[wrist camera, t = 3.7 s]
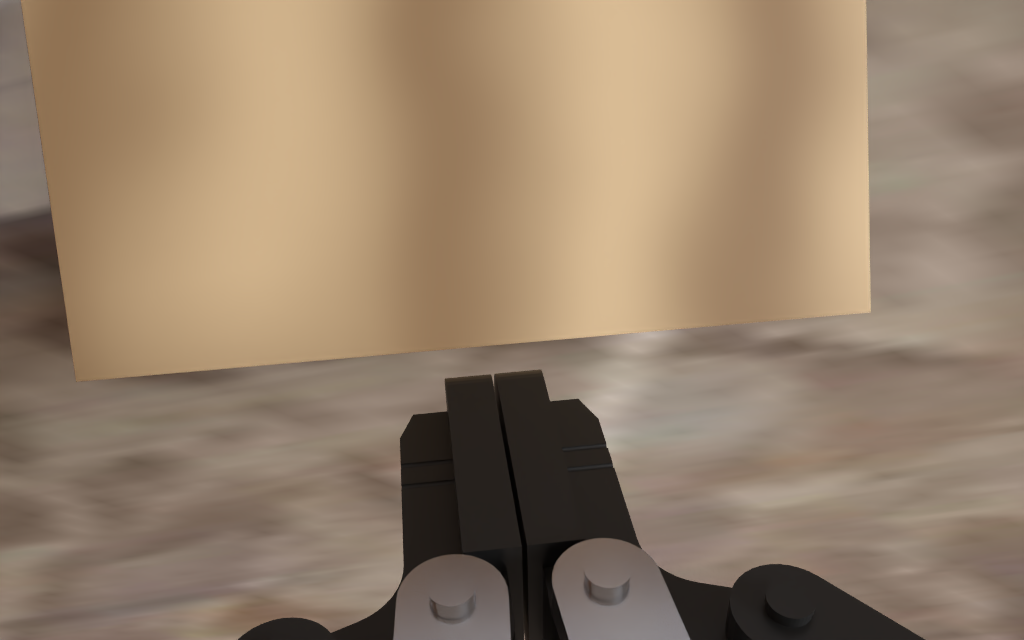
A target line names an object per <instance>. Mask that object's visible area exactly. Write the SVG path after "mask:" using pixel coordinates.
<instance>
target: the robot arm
mask: <svg viewBox="0 0 1024 640" xmlns="http://www.w3.org/2000/svg"><path fill="white" fill-rule="evenodd" d="M445 390H446V403H447V412H437V413H427V414H416V415H413V416H412V418H411V420H410V422H409V423H408V425H407V427H406V429H405V431H404V432H403V434H402V436H401V438H400V453H401V485H402V520H403V554H404V570H403V576H402V580H401V583H400V585H399V587H398V589H397V591H396V592H395V594H394V595H393V597H392V598H391V599H390V600H389V601H388V602H387V603H386V604H385V605H384V606H383V607H382V608H381V609H379V610H378V611H377V612H375V613H374V614H372V615H371V616H369V617H367V618H365V619H363V620H361V621H359V622H357V623H354V624H352V625H349V626H347V627H345V628H342V629H340V630H337V631H335V632H332V633H330V632H329V631H328V630H327V629H326V628H325V627H323V626H322V625H320V624H318V623H316V622H314V621H311V620H307V619H303V618H281V619H277V620H272V621H269V622H266V623H263V624H261V625H259V626H257V627H255V628H253V629H251V630H250V631H248V632H247V633H245V634H244V635H243V636H241V637H240V638H239V639H238V640H524V635H525V640H925V639H923V638H922V637H920V636H918V635H916V634H915V633H913V632H911V631H910V630H908V629H906V628H905V627H903V626H901V625H900V624H898V623H896V622H895V621H893V620H891V619H889V618H888V617H886V616H884V615H883V614H881V613H879V612H878V611H876V610H874V609H873V608H871V607H869V606H868V605H866V604H864V603H862V602H861V601H859V600H857V599H856V598H854V597H852V596H851V595H849V594H847V593H846V592H844V591H842V590H841V589H839V588H837V587H835V586H834V585H832V584H830V583H829V582H827V581H825V580H824V579H822V578H820V577H819V576H817V575H815V574H813V573H811V572H809V571H806V570H804V569H801V568H798V567H794V566H790V565H782V564H769V565H763V566H759V567H756V568H753V569H751V570H749V571H747V572H745V573H744V574H743V575H741V576H740V577H739V578H738V579H737V581H736V582H735V583H734V586H733V588H730V587H723V586H717V585H711V584H704V583H698V582H693V581H689V580H685V579H682V578H679V577H676V576H674V575H672V574H670V573H668V572H666V571H665V570H663V569H662V568H660V567H658V566H657V564H656V562H655V561H654V560H653V559H652V558H651V556H649V555H648V554H647V553H646V552H645V551H644V550H642V548H641V547H640V545H639V542H638V540H637V537H636V534H635V531H634V528H633V525H632V522H631V519H630V515H629V512H628V509H627V506H626V503H625V500H624V497H623V494H622V491H621V488H620V484H619V481H618V478H617V475H616V472H615V469H614V468H613V464H612V460H611V457H610V454H609V450H608V448H607V447H606V441H605V438H604V435H603V432H602V429H601V426H600V423H599V419H598V418H597V417H596V416H595V415H594V414H593V413H592V412H591V411H590V410H589V409H588V408H587V407H586V406H585V405H584V404H583V403H582V402H581V401H580V400H579V399H571V400H561V401H550V400H549V396H548V392H547V388H546V384H545V381H544V377H543V373H542V371H541V370H531V371H521V372H510V373H499V374H495V375H494V386H493V381H492V376H491V374H490V375H479V376H468V377H458V378H447V379H445ZM494 391H495V392H494Z"/></svg>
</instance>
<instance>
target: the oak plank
mask: <svg viewBox="0 0 1024 640" xmlns="http://www.w3.org/2000/svg"><path fill="white" fill-rule="evenodd" d="M21 6H22V13H23V20H24V26H25V33H26V40H27V47H28V54H29V61H30V68H31V75H32V81H33V88H34V95H35V102H36V109H37V116H38V123H39V130H40V136H41V143H42V150H43V157H44V164H45V171H46V178H47V185H48V191H49V198H50V205H51V212H52V219H53V226H54V233H55V240H56V247H57V253H58V260H59V267H60V274H61V281H62V288H63V295H64V302H65V308H66V315H67V322H68V329H69V336H70V343H71V350H72V357H73V363H74V370H75V377H76V382H78V381H90V380H101V379H113V378H124V377H136V376H147V375H158V374H170V373H181V372H193V371H204V370H216V369H227V368H239V367H250V366H261V365H273V364H284V363H296V362H307V361H319V360H330V359H342V358H353V357H364V356H376V355H387V354H399V353H410V352H422V351H433V350H444V349H456V348H467V347H479V346H490V345H502V344H513V343H525V342H536V341H547V340H559V339H570V338H582V337H593V336H605V335H616V334H628V333H639V332H650V331H662V330H673V329H685V328H696V327H708V326H719V325H730V324H742V323H753V322H765V321H776V320H788V319H799V318H811V317H822V316H833V315H845V314H856V313H868V312H871V302H870V235H869V167H868V99H867V32H866V0H21Z"/></svg>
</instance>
